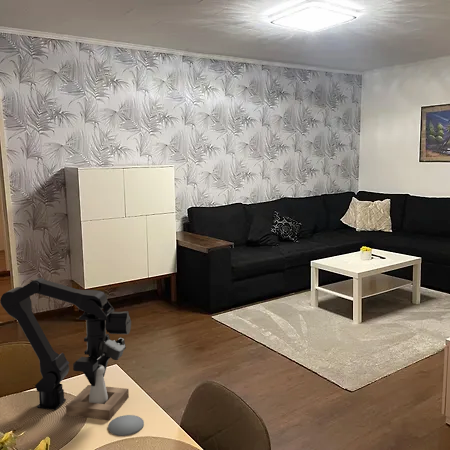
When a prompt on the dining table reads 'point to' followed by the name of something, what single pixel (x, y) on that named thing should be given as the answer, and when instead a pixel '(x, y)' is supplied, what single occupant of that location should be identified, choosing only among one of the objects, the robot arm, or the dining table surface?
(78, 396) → the walnut frame
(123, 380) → the dining table surface
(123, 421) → the slate coaster
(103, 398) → the salt shaker
